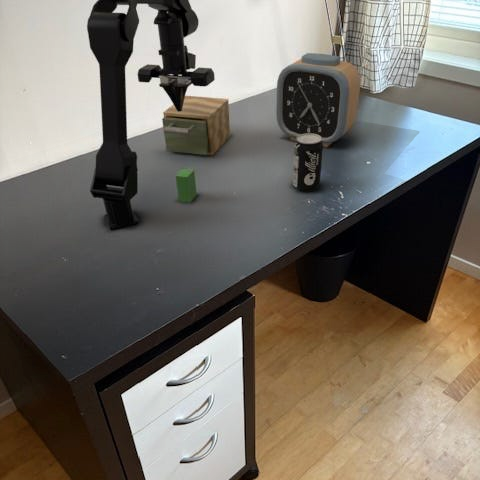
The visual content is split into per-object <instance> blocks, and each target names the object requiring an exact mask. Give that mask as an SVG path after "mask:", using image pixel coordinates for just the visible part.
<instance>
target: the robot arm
mask: <svg viewBox="0 0 480 480" xmlns="http://www.w3.org/2000/svg"><path fill="white" fill-rule="evenodd" d="M138 5H147V6H148V7H149V8H151V9H153V10H157V15H156V16H155V17H154V20H153V25H157V30H158V37H159V39H158V40H159V47H160V49H158V56H161V62H162V67H161V65H160V64H145V65H143V66H142V67H140V68H139V69H138V70H137V81H138V82H139V83H151V81H152V80H153V79H159V84H158V86H159V88H162V89H163V90H164V92H165V93H166V94H167V96H168V97H169V100H170V101H171V102H172V105H173V104H174V106H175V108H176V109H177V111H179V112H181V111H182V108H183V103H184V98H185V96H186V95H187V94H186V93H187V90H188V88H189V87H190V86H191V85H193V86H194V87H208V86H210V85H211V84H212V83H213V82H214V81H215V80H216V79H215V72H214V70H213V69H212V67H197V68H196V61H197V58H196V57H197V55H196V54H194V53H192V52H188V51H189V50H188V46H187V45H185V38H186V37H188V36H190V35H192V34H193V33H195V32H197V30H198V28H199V17H198V15H197V13H196V12H195V11H194V9H192V6H191V3H190V0H96V2H95V3H94V4H93V6H92V9H91V10H90V14H89V17H87V23H86V31H87V35H88V43H89V48H90V50H91V52H92V54H93V55H94V57H95V60H96V61H97V63H98V67H99V68H98V69H99V89H100V110H101V129H102V132H101V134H102V143H101V145H100V147H99V149H98V151H97V152H96V155H95V166H94V171H93V176H92V179H91V184H90V189H89V192H90V194H91V196H92V198H93V199H95V198H97V199H102V201H103V206H104V209H105V213H106V214H103V216H104V220H105V222H106V225H107V226H108V228H109V230H116V229H121V228H124V227H128V226H132V225H137V224H139V219H138V218H137V216H136V214H135V212H134V210H133V206H132V201H131V200H132V199H133V198H134V197H135V196H136V195H138V190H139V189H138V183H139V181H138V180H139V179H138V175H139V174H138V172H139V170H138V155H137V152H136V151H135V150H134V151H132V149H131V148H130V145H129V144H128V124H127V89H126V88H127V85H126V83H127V82H126V80H127V79H126V66H127V64H128V63H129V60H130V59H131V57H132V55H133V53H134V41H135V36H136V33H137V30H138V27H139V25H140V18H139V14H138V10H137V7H138ZM118 6H128V8H127V11H126V13H125V12H115V10H116V9H117V8H118ZM190 70H193V71H190Z"/></svg>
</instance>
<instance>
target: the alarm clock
mask: <svg viewBox="0 0 480 480" xmlns="http://www.w3.org/2000/svg"><path fill="white" fill-rule="evenodd" d="M360 75H361V74H360V73H359V71H358V68H357V67H356V66H355V65H354V64H353V63H351V62H348V61H346V60H345V61H344V60H342V59H341V57H340V56H339V55H335V54H334V55H333V54H325V53H317V52H316V53H313V52H307V53H305V54H303V55H301V58H300V59H298V60H297V61H295V62H293V63H291V64H289V65H287V66H286V67H284V68H283V69H282V70H281V71H280V73H279V75H278V77H277V78H278V79H277V81H276V114H275V115H276V121H277V125H278V127H279V129H280V130H281V131H282V132H283V133H284V134H285V135H286V136H289V137H290V141H293V142H296V141H297V136H299V135H301V134H306V133H312V134H317V135H319V136H321V138H322V140H321V141H322V143H323V148H328V147H329V146H330V145H332V143H334V142H336V141H338V140H340V138H341V137H343V136H344V135H345V134H347V132H348V131H349V130H351V128H353V126H354V124H355V122H356V121H357V114H358V109H359V108H358V107H359V99H360V92H361V91H360V90H361V76H360Z"/></svg>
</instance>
